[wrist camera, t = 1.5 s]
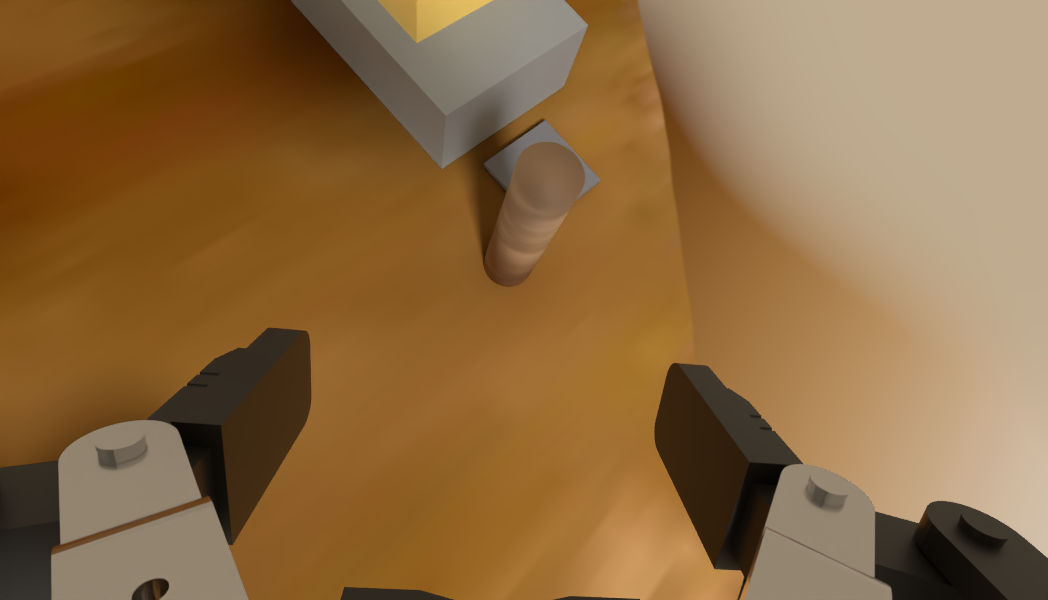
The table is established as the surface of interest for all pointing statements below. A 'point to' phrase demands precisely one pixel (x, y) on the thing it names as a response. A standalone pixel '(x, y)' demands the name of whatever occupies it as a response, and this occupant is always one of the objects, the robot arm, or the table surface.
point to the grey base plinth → (453, 60)
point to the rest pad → (507, 158)
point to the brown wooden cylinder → (532, 210)
